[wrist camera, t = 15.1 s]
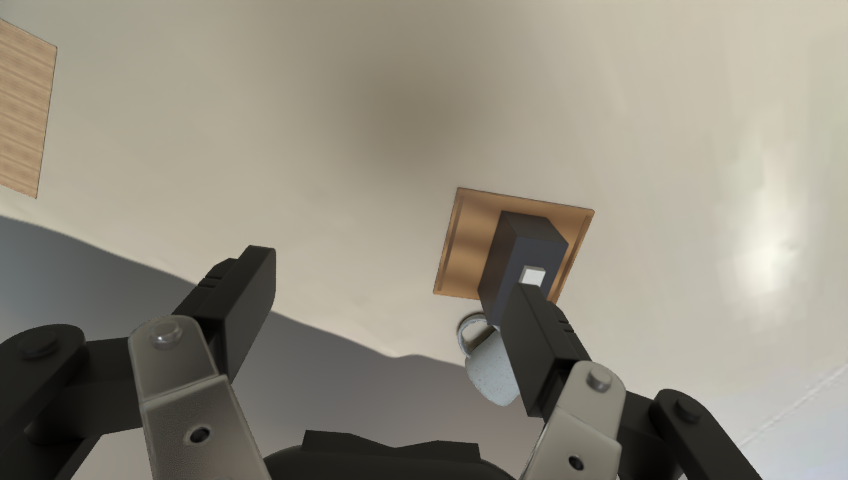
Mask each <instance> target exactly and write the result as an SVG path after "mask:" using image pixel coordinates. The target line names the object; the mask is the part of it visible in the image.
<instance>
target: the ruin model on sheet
mask: <svg viewBox="0 0 848 480" xmlns="http://www.w3.org/2000/svg"><path fill="white" fill-rule="evenodd" d="M56 50H57V48H56V47H54V46H52V45H50V44H48V43H46V42H44V41H42V40H40V39H38V38H37V37H35V36H33V35H31V34H29V33H27V32H25V31H23V30H21V29H19V28H17V27H15V26H13V25H11V24H9V23H7V22H5V21H3V20H1V19H0V184H1V185H4V186H6V187H9V188H11V189H13V190H16V191H18V192H21V193H23V194H26V195H28V196H31V197H33V198H36V195H37V188H38V181H39V173H40V166H41V159H42V152H43V144H44V137H45V130H46V123H47V116H48V108H49V101H50V94H51V87H52V79H53V72H54V65H55V58H56Z"/></svg>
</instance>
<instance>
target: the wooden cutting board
mask: <svg viewBox="0 0 848 480" xmlns="http://www.w3.org/2000/svg"><path fill="white" fill-rule="evenodd" d="M502 210H503V211H509V212H515V213H521V214H527V215H534V216H540V217H546V218H548V220H549V221H550V222H551V223H552V224H553V226H554V227H555V228H556V229H557V230H558V231H559V233H560V234H561V235H562V236H563V237H564V239H565V240H566V241H567V242H568V243H569V246H568V248H567V251H566V253H565V256H564V258H563V261H562V263H561V265H560V268H559V270H558V273H557V275H556V278H555V280H554V283H553V285H552V287H551V290H550V292H549V295H548V297H547V301H551V302H553V303H554V304H555V305H556V303H557V300H558V298H559V295H560V293H561V291H562V288H563V286H564V284H565V281H566V279H567V277H568V274H569V272H570V270H571V267H572V265H573V263H574V260H575V258H576V256H577V253H578V251H579V248H580V246H581V244H582V241H583V239H584V237H585V234H586V232H587V230H588V227H589V225H590V223H591V220H592V218H593V216H594V213H595V211H594V210H591V209H585V208H579V207H573V206H567V205H561V204H555V203H549V202H543V201H537V200H531V199H525V198H519V197H513V196H507V195H501V194H495V193H489V192H483V191H477V190H471V189H465V188H458V190H457V194H456V198H455V202H454V206H453V210H452V215H451V219H450V223H449V227H448V231H447V236H446V240H445V244H444V248H443V252H442V257H441V261H440V265H439V269H438V273H437V278H436V282H435V286H434V290H433V294H437V295H445V296H452V297H460V298H468V299H476V300H480V298H479V294H478V291H477V290H478V287H479V283H480V280H481V277H482V274H483V270H484V267H485V264H486V260H487V257H488V254H489V250H490V247H491V244H492V241H493V237H494V234H495V231H496V227H497V224H498V221H499V217H500V214H501V211H502Z"/></svg>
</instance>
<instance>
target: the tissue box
mask: <svg viewBox="0 0 848 480" xmlns="http://www.w3.org/2000/svg"><path fill="white" fill-rule="evenodd" d="M568 246H569V243H568V242H567V241H566V240H565V239H564V237H563V236H562V235H561V234H560V233H559V231H558V230H557V229H556V228H555V227H554V226H553V224H552V223H551V222H550V221H549V220H548V218H546V217H540V216H534V215H527V214H521V213H515V212H509V211H503V210H502V211H501V214H500V217H499V221H498V224H497V227H496V231H495V234H494V237H493V241H492V244H491V247H490V250H489V254H488V257H487V260H486V264H485V267H484V270H483V274H482V277H481V280H480V283H479V287H478V290H477V291H478V294H479V298H480V301H481V304H482V308H483V311H484V314H485V318H486V321H487V324H488V325H494V326H500V322H501V317H502V314H503V311H504V309H505V306H506V303H507V300H508V297H509V294H510V291H511V289H512V286H513V285H514V283H516V282H520V283H527V284H534V285H538V286H539V287H540V289H541V291H542V293H543V294H544V296H545V298H546V300H547V297H548V295H549V292H550V290H551V287H552V285H553V283H554V280H555V278H556V275H557V273H558V270H559V268H560V265H561V263H562V261H563V258H564V256H565V253H566V251H567V248H568Z"/></svg>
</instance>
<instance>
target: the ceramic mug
mask: <svg viewBox="0 0 848 480" xmlns="http://www.w3.org/2000/svg"><path fill="white" fill-rule="evenodd" d="M476 321H484V322H487V321H486V318H485V315H481V314H478V315H473V316H470V317H468V318H467V319H466V320H465V321H464V322H463V323H462V324H461V326H460V328H459V331H458V342H459V345H460V347H461V349H462V351H463V352H464V354H465V355H466V356H467V357H466V359H465V368H466V370H467V374H468V375H469V377H470V379H471V381H472V382H473V384H474V385H475V386H476V388H477V389H478V390H479V391H480V392H481V393H482V394H483V395H484V396H485V397H486V398H487V399H489V400H490V401H492V402H493V403H495V404H498V405H501V406H506V405H508V404H509V403H511V401H513V399H514V398H515V397H516V396H517V395H518V394H519V393H520V391H519V388H518V385H517V382H516V379H515V376H514V373H513V370H512V367H511V364H510V361H509V358H508V355H507V352H506V349H505V346H504V343H503V340H502V337H501V333H500V326H494V325H492V326H494V328H496V330H495V331H494V332H493V333H492V334H491V335H490V336H489V337H488V338H487V339H486V340H485V341H483V342H482V343H481V344H480V345H479V346H478V347H476V348H475V349H474V350H473V351H472V352H471V351H470V350H469V349H468V348H467V346H466V345H465V343H464V341H463V338H462V331H463V329H464V328H465V327H466V326H468V325H469V324H471V323H475V322H476Z"/></svg>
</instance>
